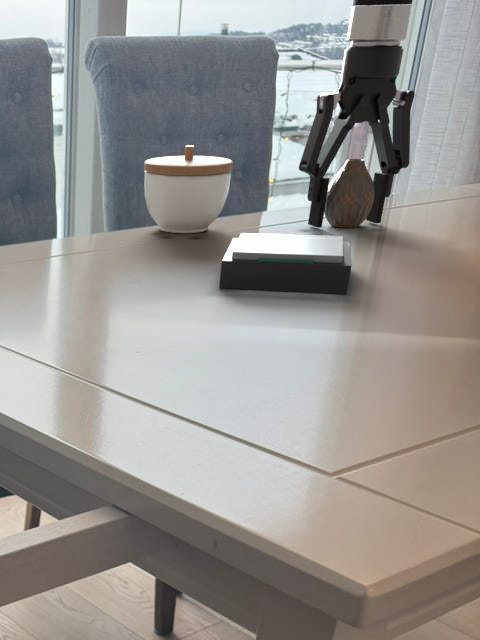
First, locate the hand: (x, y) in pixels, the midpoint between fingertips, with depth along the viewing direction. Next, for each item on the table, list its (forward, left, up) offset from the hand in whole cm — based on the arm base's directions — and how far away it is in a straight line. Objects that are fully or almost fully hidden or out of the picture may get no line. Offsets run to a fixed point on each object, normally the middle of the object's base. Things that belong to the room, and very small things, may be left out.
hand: (344, 223), depth 138 cm
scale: (+7, +37, 0) cm, 38 cm away
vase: (0, 0, 0) cm, 0 cm away
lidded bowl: (+23, +7, 0) cm, 24 cm away
